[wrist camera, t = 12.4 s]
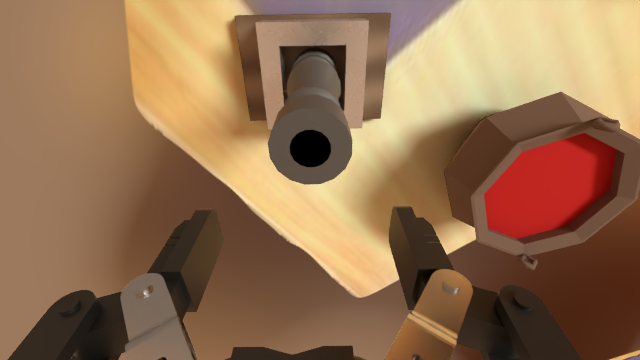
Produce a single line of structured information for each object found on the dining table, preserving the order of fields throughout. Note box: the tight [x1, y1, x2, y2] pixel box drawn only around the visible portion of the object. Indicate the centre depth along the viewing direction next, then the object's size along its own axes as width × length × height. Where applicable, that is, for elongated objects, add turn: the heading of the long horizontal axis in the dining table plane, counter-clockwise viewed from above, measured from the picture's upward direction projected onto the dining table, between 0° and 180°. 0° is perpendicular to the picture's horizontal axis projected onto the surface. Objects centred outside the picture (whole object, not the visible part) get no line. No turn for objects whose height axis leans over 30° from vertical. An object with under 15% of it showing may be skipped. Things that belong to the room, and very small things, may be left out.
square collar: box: [255, 18, 369, 130], centre depth 38 cm, size 13×13×5 cm
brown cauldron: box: [444, 92, 640, 270], centre depth 42 cm, size 24×24×16 cm
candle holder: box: [268, 48, 352, 184], centre depth 30 cm, size 6×6×25 cm
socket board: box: [235, 13, 391, 121], centre depth 41 cm, size 14×20×2 cm
